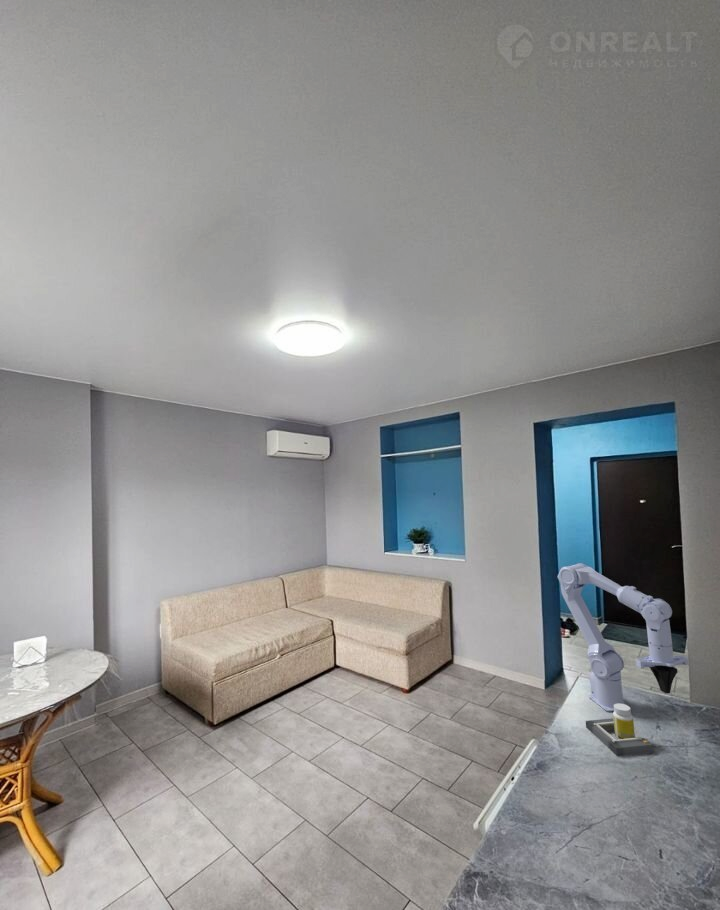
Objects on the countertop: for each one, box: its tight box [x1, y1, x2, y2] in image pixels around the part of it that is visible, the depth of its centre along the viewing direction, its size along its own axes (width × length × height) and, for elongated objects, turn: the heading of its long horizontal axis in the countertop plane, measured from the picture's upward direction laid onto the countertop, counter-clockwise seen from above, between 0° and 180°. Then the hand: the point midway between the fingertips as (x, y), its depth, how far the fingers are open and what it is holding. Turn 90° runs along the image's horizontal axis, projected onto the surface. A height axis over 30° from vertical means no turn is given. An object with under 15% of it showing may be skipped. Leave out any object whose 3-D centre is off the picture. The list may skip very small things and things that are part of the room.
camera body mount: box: [585, 718, 654, 756], centre depth 114 cm, size 13×10×2 cm
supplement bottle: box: [612, 703, 636, 740], centre depth 115 cm, size 5×5×8 cm
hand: (665, 691), depth 119 cm, fingers closed
